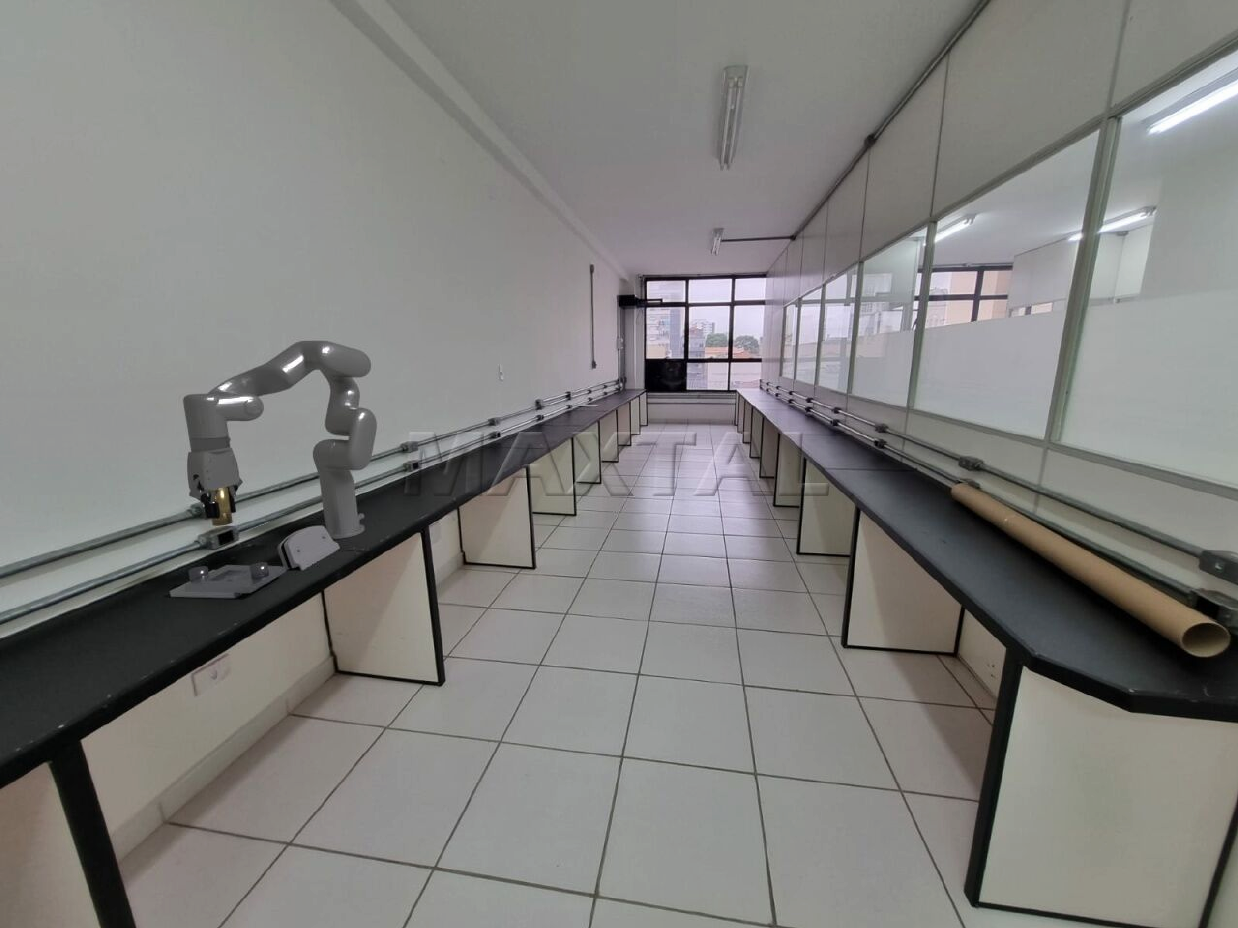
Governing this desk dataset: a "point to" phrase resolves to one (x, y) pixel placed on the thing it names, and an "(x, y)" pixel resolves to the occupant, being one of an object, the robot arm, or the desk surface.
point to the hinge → (306, 547)
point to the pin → (223, 507)
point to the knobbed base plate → (227, 580)
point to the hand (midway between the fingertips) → (221, 514)
